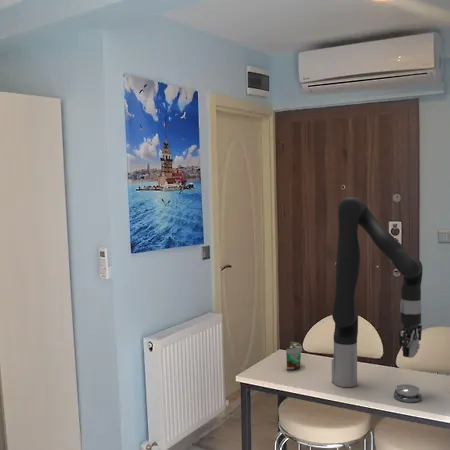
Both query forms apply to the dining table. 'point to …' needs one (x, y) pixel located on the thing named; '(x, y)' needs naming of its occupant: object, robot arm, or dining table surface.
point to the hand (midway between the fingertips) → (410, 354)
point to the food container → (293, 356)
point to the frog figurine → (413, 348)
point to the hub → (407, 393)
